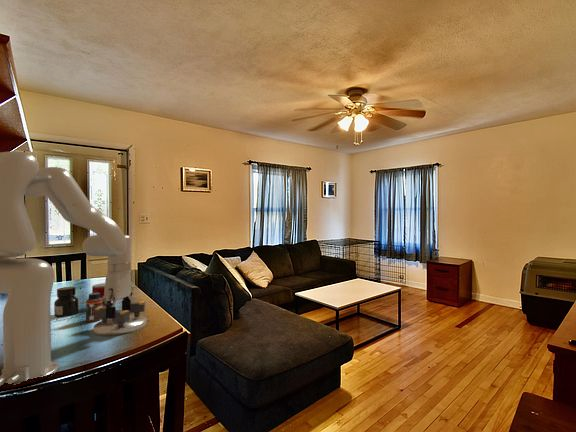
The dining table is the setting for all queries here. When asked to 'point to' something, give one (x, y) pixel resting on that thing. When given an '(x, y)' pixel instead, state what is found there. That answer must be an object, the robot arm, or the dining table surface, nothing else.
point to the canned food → (99, 290)
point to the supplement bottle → (93, 306)
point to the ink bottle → (66, 302)
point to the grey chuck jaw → (122, 317)
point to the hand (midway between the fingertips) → (118, 314)
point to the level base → (113, 329)
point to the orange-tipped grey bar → (101, 313)
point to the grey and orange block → (137, 308)
